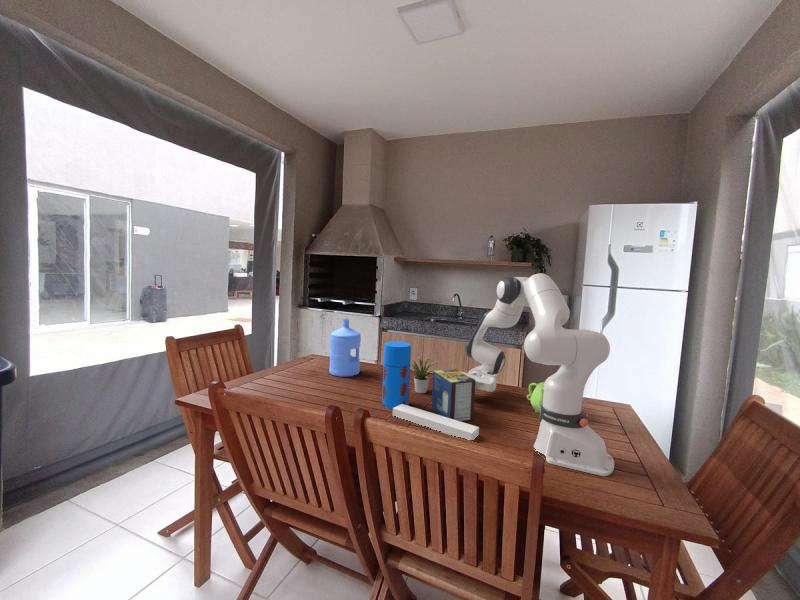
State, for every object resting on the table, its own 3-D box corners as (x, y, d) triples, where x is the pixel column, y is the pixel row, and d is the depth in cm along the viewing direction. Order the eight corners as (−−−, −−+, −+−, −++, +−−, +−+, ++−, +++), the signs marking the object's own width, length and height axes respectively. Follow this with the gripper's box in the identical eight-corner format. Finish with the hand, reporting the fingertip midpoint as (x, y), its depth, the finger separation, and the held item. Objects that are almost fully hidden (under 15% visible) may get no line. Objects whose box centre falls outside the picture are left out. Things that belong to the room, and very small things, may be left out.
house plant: (438, 386, 174) (439, 353, 172) (440, 397, 160) (442, 360, 158) (408, 385, 174) (409, 351, 173) (408, 395, 160) (409, 359, 159)
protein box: (453, 405, 151) (455, 368, 150) (473, 420, 137) (476, 379, 135) (430, 407, 147) (432, 370, 146) (449, 423, 133) (451, 381, 132)
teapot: (576, 421, 140) (579, 389, 139) (539, 420, 139) (542, 388, 138) (556, 405, 156) (559, 376, 155) (523, 404, 155) (526, 375, 154)
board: (478, 435, 124) (479, 427, 124) (471, 442, 119) (471, 433, 119) (401, 411, 142) (402, 403, 142) (392, 415, 137) (392, 408, 137)
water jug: (327, 377, 182) (328, 321, 179) (331, 368, 197) (332, 317, 195) (359, 377, 183) (360, 322, 181) (360, 368, 199) (361, 317, 196)
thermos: (377, 401, 151) (380, 342, 149) (400, 398, 156) (403, 340, 154) (389, 411, 142) (391, 348, 140) (413, 407, 147) (416, 346, 144)
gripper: (456, 366, 167) (442, 372, 156) (500, 375, 155) (487, 383, 144) (456, 379, 167) (441, 387, 156) (499, 390, 156) (486, 399, 144)
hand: (463, 385), depth 150 cm, fingers closed
